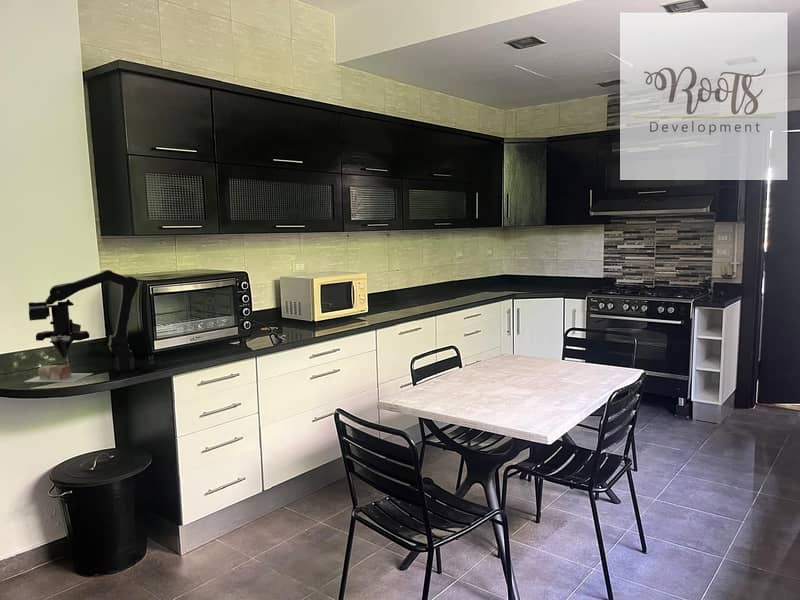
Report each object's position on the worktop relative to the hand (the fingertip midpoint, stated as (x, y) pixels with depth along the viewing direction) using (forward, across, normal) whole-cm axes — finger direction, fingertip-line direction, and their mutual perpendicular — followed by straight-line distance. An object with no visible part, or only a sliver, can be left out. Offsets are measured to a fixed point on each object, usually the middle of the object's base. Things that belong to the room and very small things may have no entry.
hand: (64, 357), depth 228 cm
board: (+9, +4, -1) cm, 10 cm away
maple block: (+6, 0, 0) cm, 6 cm away
